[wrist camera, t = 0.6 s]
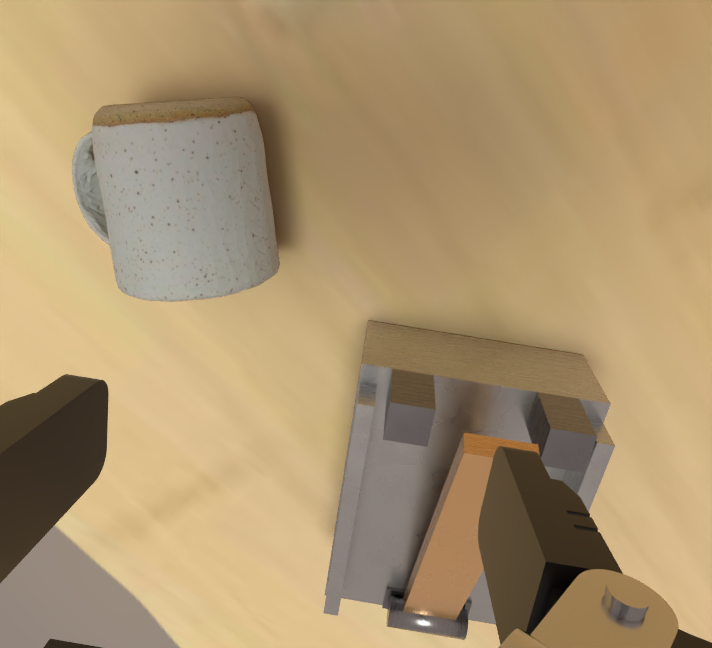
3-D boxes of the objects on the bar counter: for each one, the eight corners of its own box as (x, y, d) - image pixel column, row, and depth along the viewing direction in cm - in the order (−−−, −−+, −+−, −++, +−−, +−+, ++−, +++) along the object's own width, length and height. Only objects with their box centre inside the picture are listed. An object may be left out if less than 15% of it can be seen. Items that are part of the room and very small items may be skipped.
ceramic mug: (273, 87, 28) (222, 98, 21) (295, 251, 31) (257, 307, 24) (68, 105, 29) (-43, 120, 22) (110, 260, 33) (24, 315, 26)
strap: (446, 429, 23) (446, 462, 22) (555, 447, 23) (561, 481, 22) (388, 602, 35) (385, 630, 33) (461, 615, 34) (461, 644, 33)
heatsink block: (368, 320, 32) (356, 396, 25) (582, 354, 32) (631, 441, 25) (334, 533, 39) (317, 640, 32) (511, 562, 39) (533, 678, 32)
